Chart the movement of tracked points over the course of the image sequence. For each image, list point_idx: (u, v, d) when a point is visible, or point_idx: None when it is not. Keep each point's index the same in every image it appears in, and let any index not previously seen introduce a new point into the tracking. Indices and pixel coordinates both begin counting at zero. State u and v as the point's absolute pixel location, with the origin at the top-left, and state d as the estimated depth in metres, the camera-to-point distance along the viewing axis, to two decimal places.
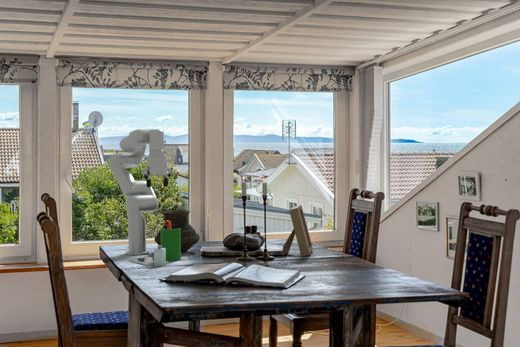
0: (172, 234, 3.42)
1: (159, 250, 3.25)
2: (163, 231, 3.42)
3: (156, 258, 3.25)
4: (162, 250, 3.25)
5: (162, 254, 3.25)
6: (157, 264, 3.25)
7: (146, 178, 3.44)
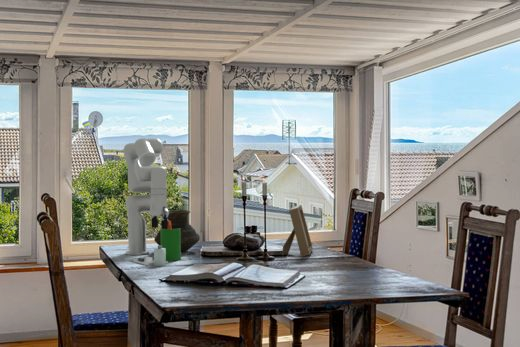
0: (172, 234, 3.42)
1: (159, 250, 3.25)
2: (163, 231, 3.42)
3: (156, 258, 3.25)
4: (162, 250, 3.25)
5: (162, 254, 3.25)
6: (157, 264, 3.25)
7: (166, 219, 3.22)
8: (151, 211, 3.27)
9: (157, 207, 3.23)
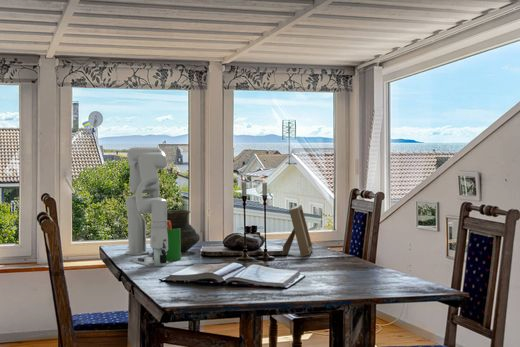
0: (172, 234, 3.42)
1: (159, 250, 3.25)
2: None
3: (156, 258, 3.25)
4: (162, 250, 3.25)
5: None
6: (157, 264, 3.25)
7: (165, 253, 3.24)
8: (151, 243, 3.28)
9: (157, 240, 3.23)
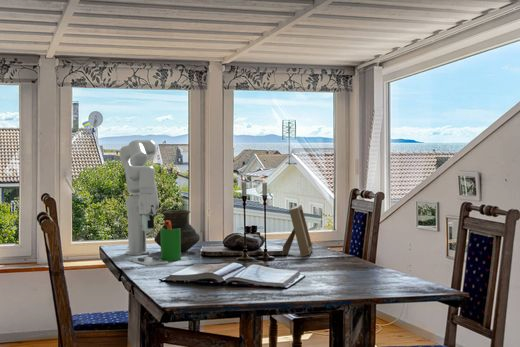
0: (172, 234, 3.42)
1: (147, 215, 3.35)
2: (163, 231, 3.42)
3: (144, 223, 3.36)
4: (150, 215, 3.36)
5: None
6: (145, 229, 3.35)
7: (153, 219, 3.34)
8: (140, 209, 3.38)
9: (145, 206, 3.33)
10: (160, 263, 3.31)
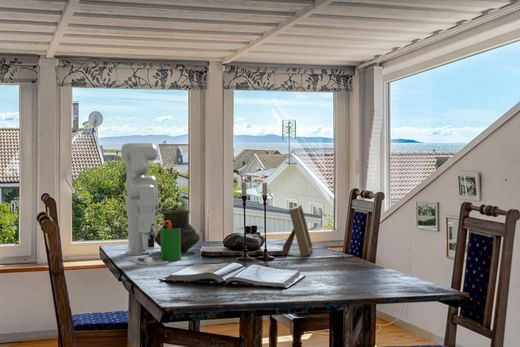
0: (172, 234, 3.42)
1: (147, 234, 3.35)
2: (163, 231, 3.42)
3: (144, 242, 3.36)
4: (150, 234, 3.36)
5: None
6: (145, 248, 3.35)
7: (153, 238, 3.34)
8: (140, 228, 3.38)
9: (146, 224, 3.34)
10: (160, 263, 3.31)
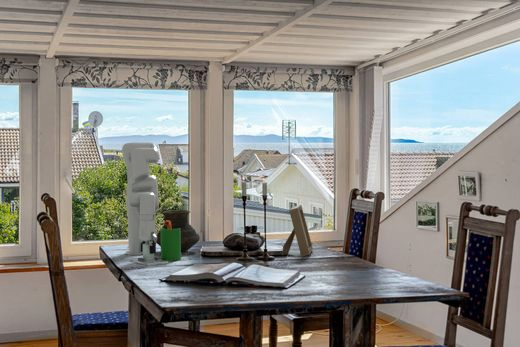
0: (172, 234, 3.42)
1: (147, 245, 3.35)
2: (163, 231, 3.42)
3: (145, 253, 3.36)
4: None
5: None
6: (145, 259, 3.36)
7: (154, 244, 3.33)
8: (140, 236, 3.39)
9: (146, 232, 3.34)
10: (160, 263, 3.31)
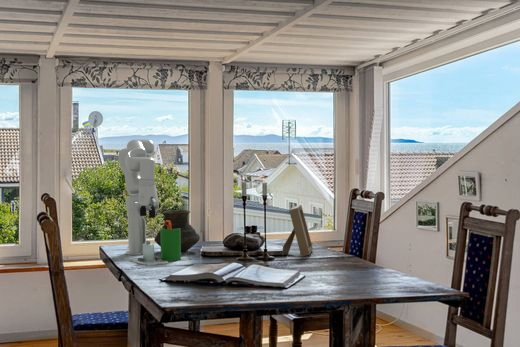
0: (172, 234, 3.42)
1: (147, 245, 3.35)
2: (163, 231, 3.42)
3: (145, 253, 3.36)
4: (150, 245, 3.36)
5: (150, 249, 3.36)
6: (145, 259, 3.36)
7: (154, 208, 3.36)
8: (140, 200, 3.41)
9: (145, 197, 3.36)
10: (160, 263, 3.31)
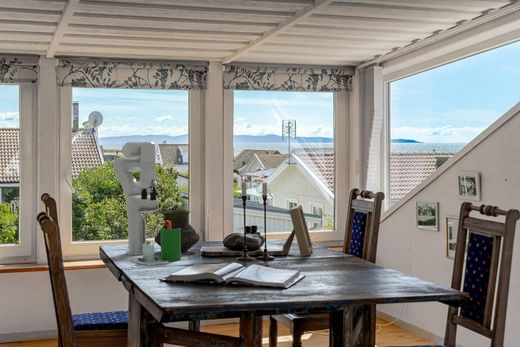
0: (172, 234, 3.42)
1: (147, 245, 3.35)
2: (163, 231, 3.42)
3: (145, 253, 3.36)
4: (150, 245, 3.36)
5: (150, 249, 3.36)
6: (145, 259, 3.36)
7: (155, 191, 3.43)
8: (141, 184, 3.48)
9: (146, 180, 3.44)
10: (160, 263, 3.31)
